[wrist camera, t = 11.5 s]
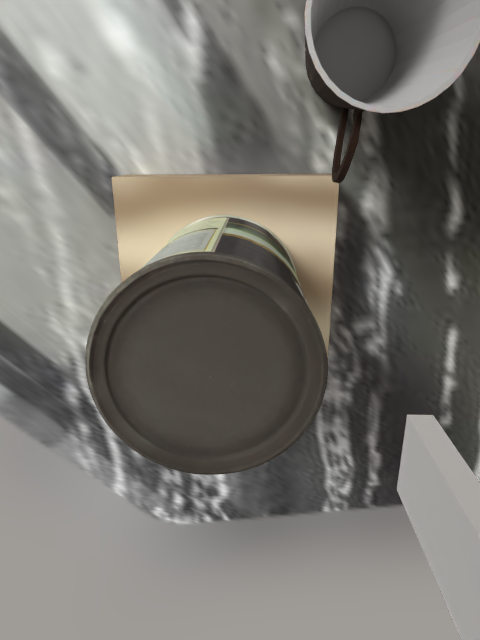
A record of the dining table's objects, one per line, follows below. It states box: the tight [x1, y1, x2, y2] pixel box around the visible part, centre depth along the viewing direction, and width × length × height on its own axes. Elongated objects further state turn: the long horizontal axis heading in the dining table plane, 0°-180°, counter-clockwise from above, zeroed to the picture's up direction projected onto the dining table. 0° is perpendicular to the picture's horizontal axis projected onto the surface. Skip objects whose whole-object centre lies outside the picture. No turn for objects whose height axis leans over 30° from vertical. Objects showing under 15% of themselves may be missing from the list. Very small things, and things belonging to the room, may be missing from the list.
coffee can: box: [85, 215, 328, 474], centre depth 26 cm, size 10×10×14 cm
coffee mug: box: [305, 0, 480, 183], centre depth 27 cm, size 12×9×10 cm
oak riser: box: [112, 174, 339, 358], centre depth 34 cm, size 15×15×4 cm
